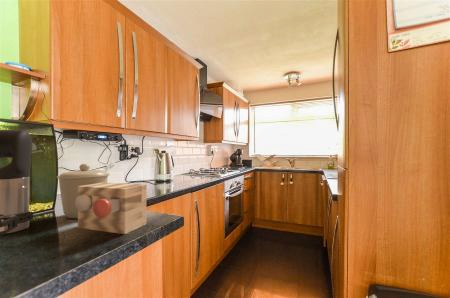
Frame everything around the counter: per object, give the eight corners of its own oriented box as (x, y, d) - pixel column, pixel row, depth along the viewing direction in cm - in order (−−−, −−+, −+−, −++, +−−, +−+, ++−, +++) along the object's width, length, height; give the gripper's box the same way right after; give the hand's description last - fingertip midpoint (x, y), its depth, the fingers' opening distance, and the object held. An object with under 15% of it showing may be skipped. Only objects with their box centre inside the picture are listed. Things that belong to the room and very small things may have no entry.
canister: (84, 223, 77) (84, 165, 78) (43, 220, 81) (44, 164, 81) (118, 210, 95) (118, 162, 95) (84, 208, 99) (84, 162, 99)
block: (77, 227, 73) (77, 186, 73) (102, 219, 82) (102, 182, 82) (125, 234, 67) (125, 188, 67) (146, 223, 76) (146, 184, 76)
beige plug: (75, 210, 70) (75, 194, 71) (97, 204, 79) (98, 190, 79) (86, 211, 69) (87, 195, 69) (109, 205, 77) (109, 191, 77)
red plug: (93, 216, 63) (93, 199, 63) (116, 209, 72) (116, 193, 72) (106, 218, 62) (106, 200, 62) (128, 210, 70) (128, 194, 70)
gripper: (-58, 224, 38) (49, 202, 54) (-95, 218, 42) (15, 199, 58) (-59, 267, 38) (48, 232, 54) (-95, 256, 42) (15, 227, 58)
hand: (31, 215), depth 56 cm, fingers closed
